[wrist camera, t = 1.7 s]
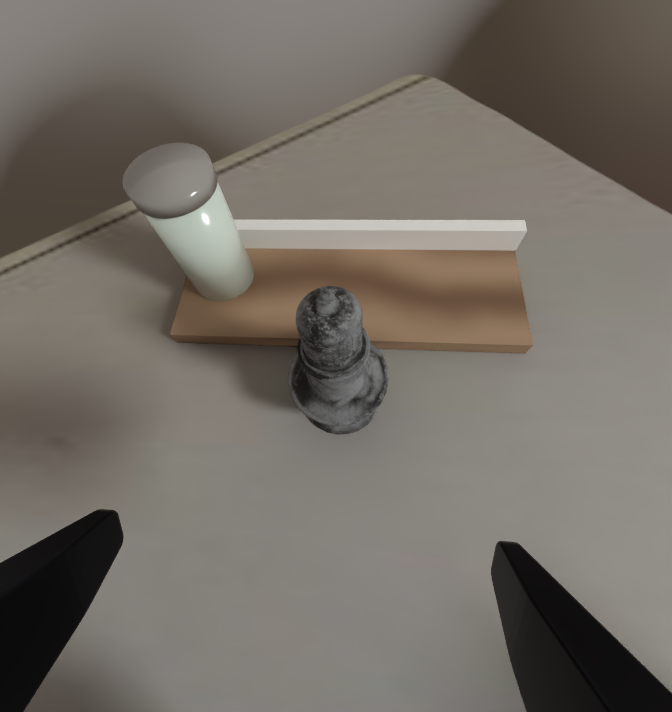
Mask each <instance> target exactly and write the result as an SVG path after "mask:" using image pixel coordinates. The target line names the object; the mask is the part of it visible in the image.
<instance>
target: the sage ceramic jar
mask: <svg viewBox="0 0 672 712" xmlns="http://www.w3.org/2000/svg"><path fill="white" fill-rule="evenodd" d="M123 187H124V189H125V191H126V193H127V194H128V196H129V197H130V199H131V200H132V201H133V203H134V204H135V206H136V207H137V208H138V209H139V211H141V212H142V213H143V214H144V215H145V217H146V218H147V220H148V221H149V222H150V224H151V225H152V227H153V228H154V229H155V231H156V232H157V234H158V235H159V237H160V238H161V239H162V241H163V242H164V244H165V245H166V247H167V248H168V249H169V251H170V252H171V254H172V255H173V257H174V258H175V259H176V261H177V262H178V264H179V265H180V267H181V268H182V269H183V271H184V272H185V274H186V275H187V277H188V278H189V279H190V281H191V282H192V284H193V285H194V287H195V288H196V289H197V291H198V292H199V293H200V295H202V296H203V297H204V298H206V299H208V300H212V301H227V300H231V299H233V298H236V297H238V296H239V295H241V294H242V293H244V292H245V291H246V290H247V289H248V288H249V286H250V285H251V283H252V281H253V278H254V268H253V265H252V263H251V261H250V258H249V256H248V253H247V251H246V249H245V246H244V244H243V241H242V239H241V237H240V234H239V232H238V229H237V227H236V225H235V222H234V220H233V217H232V215H231V213H230V210H229V208H228V206H227V203H226V201H225V198H224V196H223V194H222V191H221V189H220V186H219V184H218V181H217V175H216V172H215V170H214V167H213V165H212V163H211V160H210V158H209V156H208V154H207V153H206V152H205V151H204V150H203V149H201V148H200V147H198V146H196V145H192V144H188V143H171V144H165V145H161V146H158V147H155V148H153V149H150V150H148V151H146V152H145V153H143V154H141V155H140V156H139V157H137V158H136V159H135V160H134V161H133V162H132V163H131V164H130V165H129V166H128V168H127V169H126V171H125V173H124V176H123Z"/></svg>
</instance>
